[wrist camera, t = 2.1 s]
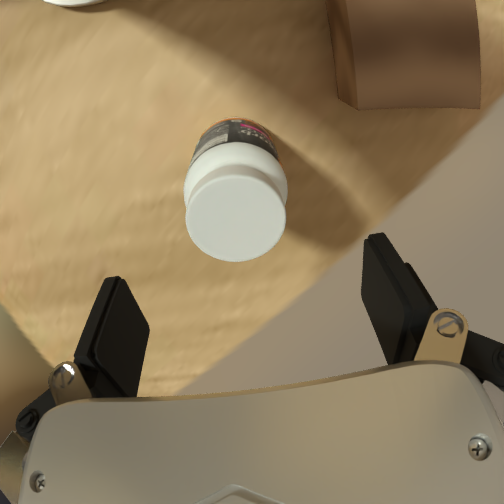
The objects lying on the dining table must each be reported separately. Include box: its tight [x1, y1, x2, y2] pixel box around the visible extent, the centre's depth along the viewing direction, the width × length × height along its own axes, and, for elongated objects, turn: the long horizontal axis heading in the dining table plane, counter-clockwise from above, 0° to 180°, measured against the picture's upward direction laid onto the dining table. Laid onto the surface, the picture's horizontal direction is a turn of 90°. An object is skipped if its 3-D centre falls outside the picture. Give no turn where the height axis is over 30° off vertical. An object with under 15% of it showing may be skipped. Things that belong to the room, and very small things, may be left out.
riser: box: [326, 0, 481, 110], centre depth 16 cm, size 10×10×4 cm
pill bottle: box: [184, 117, 288, 262], centre depth 19 cm, size 6×6×10 cm
